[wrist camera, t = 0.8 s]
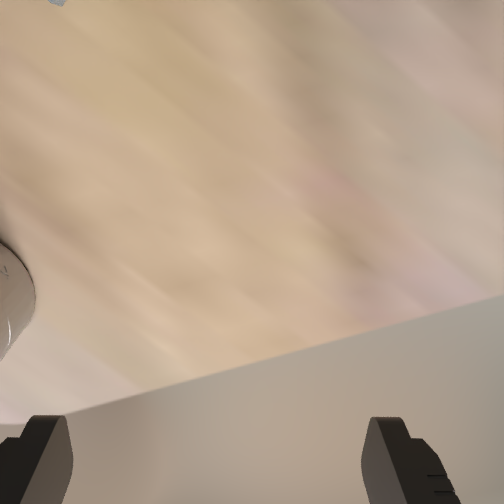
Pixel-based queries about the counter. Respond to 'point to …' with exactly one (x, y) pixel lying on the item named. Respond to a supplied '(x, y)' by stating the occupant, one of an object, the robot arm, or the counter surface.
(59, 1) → the stand
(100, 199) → the counter surface
